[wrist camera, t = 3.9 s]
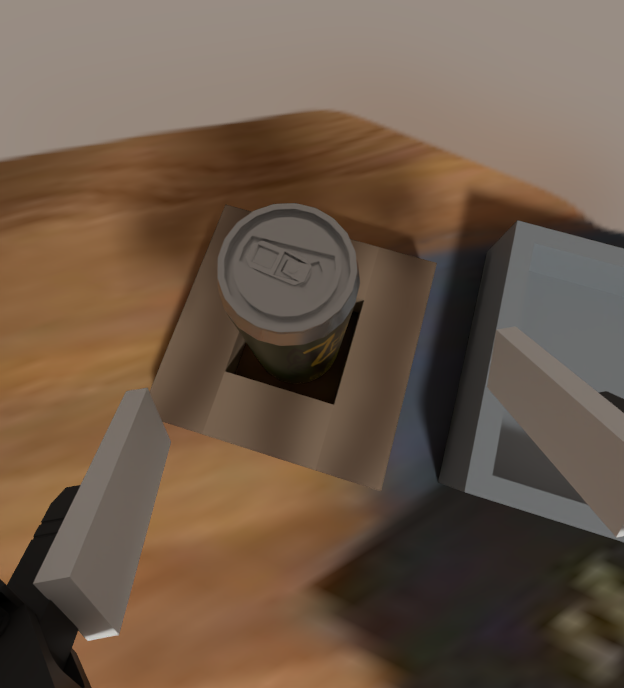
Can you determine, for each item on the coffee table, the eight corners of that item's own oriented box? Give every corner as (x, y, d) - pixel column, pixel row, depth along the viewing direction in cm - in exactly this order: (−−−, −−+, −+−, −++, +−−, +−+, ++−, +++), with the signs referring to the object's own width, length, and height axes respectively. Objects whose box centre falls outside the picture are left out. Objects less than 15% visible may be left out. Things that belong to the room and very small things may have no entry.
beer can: (242, 365, 25) (182, 301, 13) (277, 294, 26) (251, 176, 14) (318, 398, 24) (327, 364, 12) (350, 324, 25) (386, 229, 14)
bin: (438, 482, 23) (464, 492, 19) (486, 251, 27) (517, 220, 23) (707, 567, 22) (793, 595, 18) (720, 315, 26) (793, 294, 22)
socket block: (157, 416, 24) (140, 414, 21) (233, 225, 27) (225, 204, 24) (373, 485, 23) (380, 491, 20) (424, 279, 26) (436, 263, 24)
